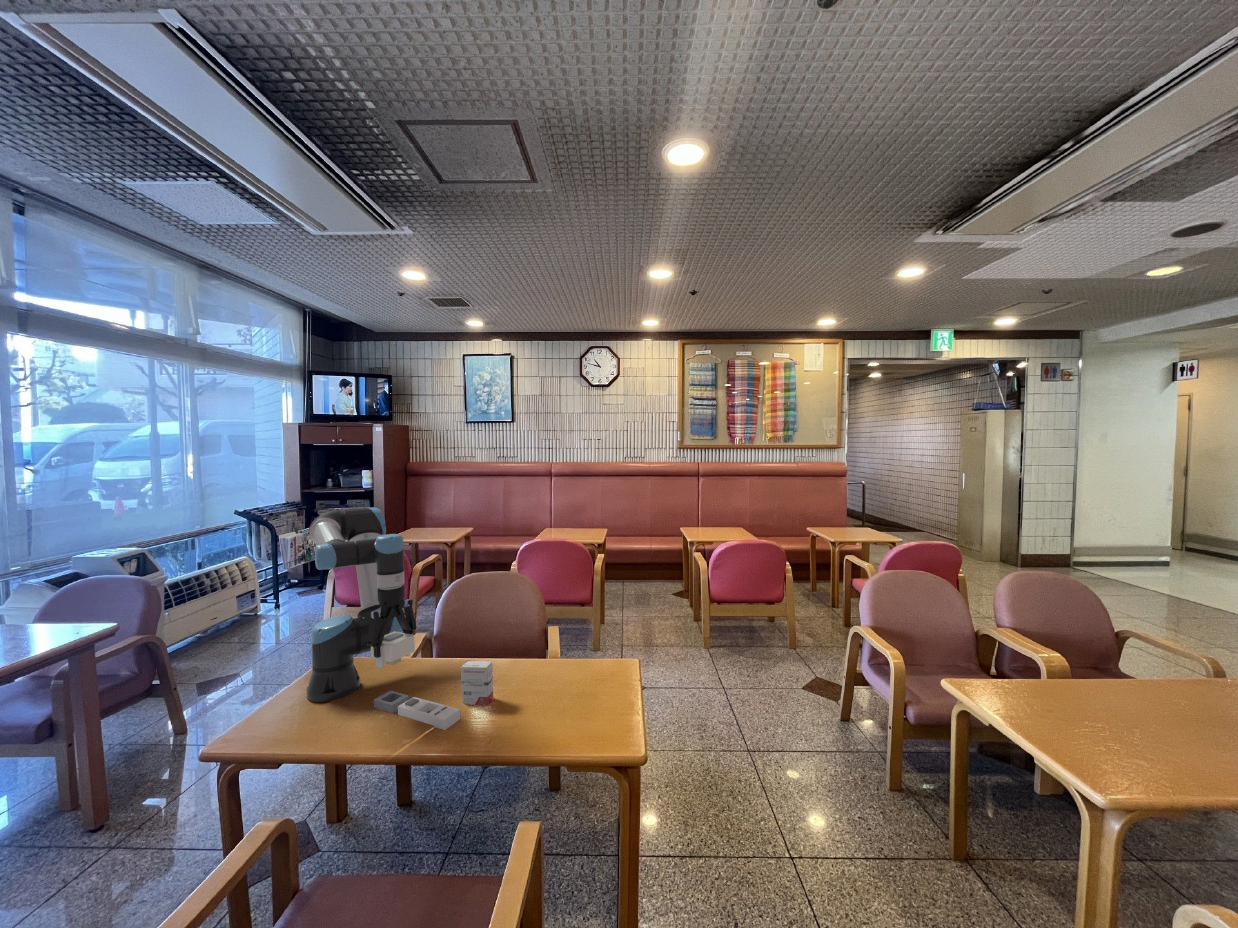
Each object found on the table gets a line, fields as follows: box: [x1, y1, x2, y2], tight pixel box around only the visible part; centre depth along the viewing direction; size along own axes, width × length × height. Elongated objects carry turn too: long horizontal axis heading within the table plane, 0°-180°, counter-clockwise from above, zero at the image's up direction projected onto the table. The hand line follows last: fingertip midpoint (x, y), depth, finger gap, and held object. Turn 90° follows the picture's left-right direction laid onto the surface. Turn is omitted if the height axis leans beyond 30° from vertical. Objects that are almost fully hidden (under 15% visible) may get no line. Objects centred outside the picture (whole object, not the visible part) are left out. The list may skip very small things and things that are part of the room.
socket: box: [397, 696, 461, 731], centre depth 144 cm, size 18×6×4 cm, turn 66°
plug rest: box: [373, 690, 410, 714], centre depth 150 cm, size 8×6×3 cm
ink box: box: [460, 660, 494, 706], centre depth 153 cm, size 9×5×12 cm, turn 84°
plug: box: [370, 631, 416, 666], centre depth 149 cm, size 8×8×8 cm
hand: (393, 660), depth 149 cm, fingers closed on plug, 8 cm apart
